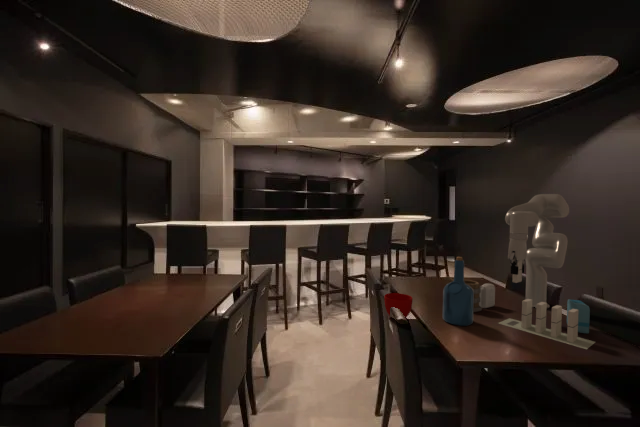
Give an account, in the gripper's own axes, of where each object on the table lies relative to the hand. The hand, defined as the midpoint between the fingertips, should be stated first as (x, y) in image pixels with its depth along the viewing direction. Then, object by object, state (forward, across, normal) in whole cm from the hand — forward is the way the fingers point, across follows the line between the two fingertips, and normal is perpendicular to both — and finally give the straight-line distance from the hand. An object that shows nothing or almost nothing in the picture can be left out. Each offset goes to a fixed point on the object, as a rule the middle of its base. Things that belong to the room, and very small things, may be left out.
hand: (517, 273), depth 156 cm
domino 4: (+21, +13, +20) cm, 32 cm away
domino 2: (+21, +13, +10) cm, 26 cm away
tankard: (+22, +8, -24) cm, 33 cm away
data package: (+22, -5, +23) cm, 32 cm away
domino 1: (+4, 0, 0) cm, 4 cm away
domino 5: (+21, +13, +26) cm, 36 cm away
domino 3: (+21, +13, +15) cm, 29 cm away
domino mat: (+21, +13, +16) cm, 30 cm away
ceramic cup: (+21, +50, -32) cm, 63 cm away
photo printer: (+22, -4, -16) cm, 27 cm away
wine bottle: (+22, +32, -12) cm, 41 cm away
